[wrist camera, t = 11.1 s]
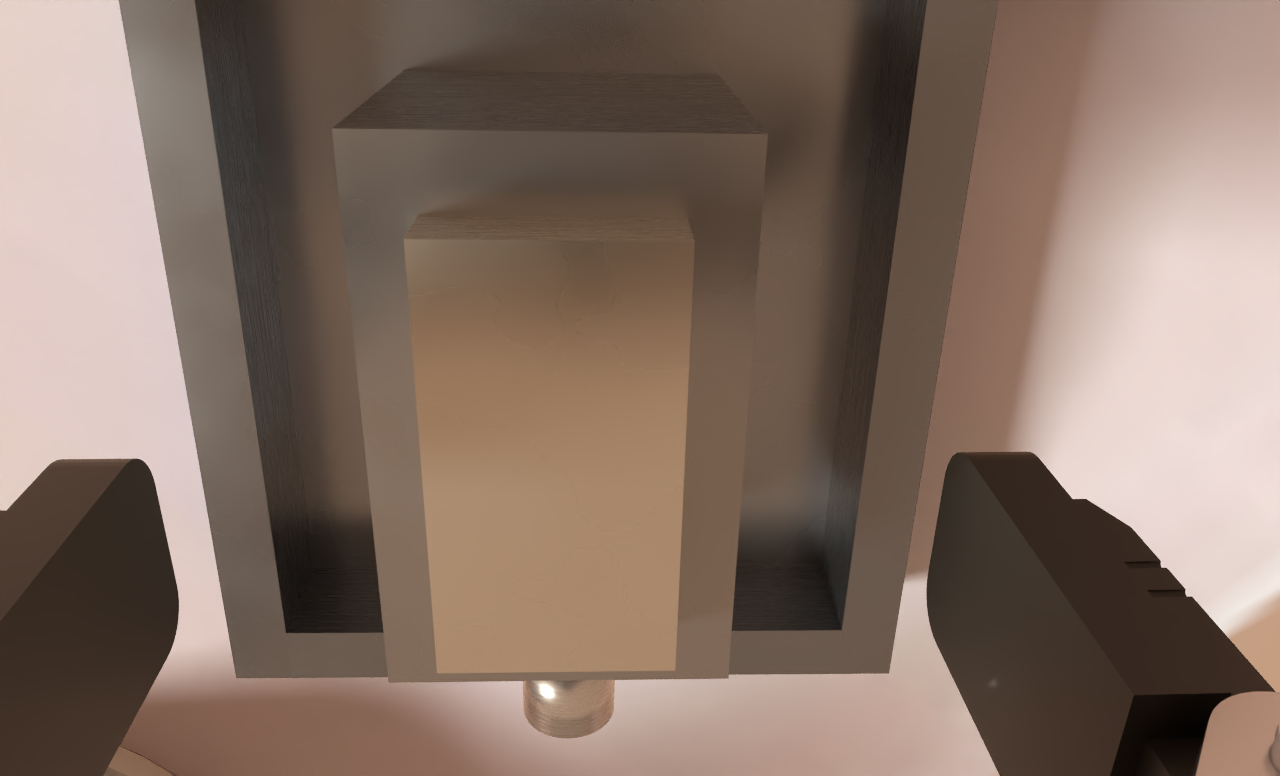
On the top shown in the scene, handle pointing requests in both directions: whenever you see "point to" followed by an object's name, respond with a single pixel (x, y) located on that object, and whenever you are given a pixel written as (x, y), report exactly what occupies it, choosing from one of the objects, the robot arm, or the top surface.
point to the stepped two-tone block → (553, 366)
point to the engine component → (133, 765)
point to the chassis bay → (784, 310)
